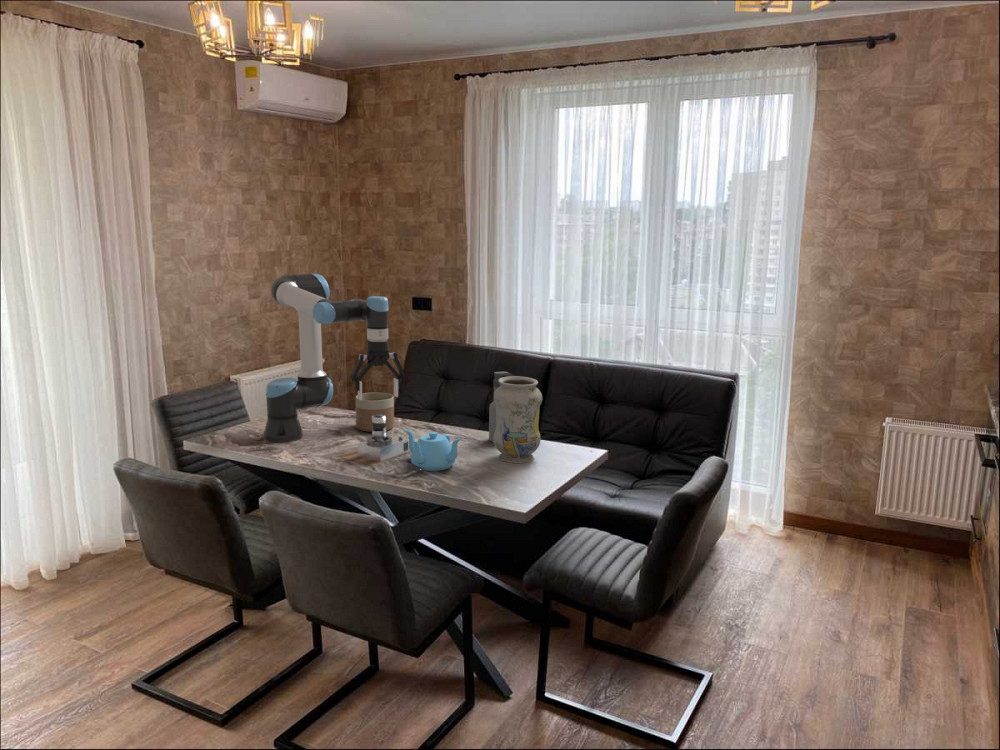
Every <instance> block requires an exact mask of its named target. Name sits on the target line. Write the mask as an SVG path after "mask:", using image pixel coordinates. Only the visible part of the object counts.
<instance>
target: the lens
mask: <svg viewBox="0 0 1000 750" xmlns="http://www.w3.org/2000/svg"><path fill="white" fill-rule="evenodd" d="M371 433H372V435H371V436H372V439H373V441H386V435H387V431H386V416H385V415H382V414H377V415H373V416H372V432H371Z"/></svg>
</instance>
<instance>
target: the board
mask: <svg viewBox="0 0 1000 750" xmlns="http://www.w3.org/2000/svg"><path fill="white" fill-rule="evenodd" d="M408 454H411V451H410V452H409V451H408V453H405V454H402V455H399V456H397V457H394V458H391V459H388V460H385V461H383V462H378V461H374V460H370V459H366V458H362V457H358V448H356V449H353V450H350V451H347V452H344V453H340V454H338V455H335V457H337V458H341V459H344V460H349V461H353V462H357V463H360V464H365V465H369V466H372V467H375V466H378V465H381V464H383V463H386V462H388V461H392V460H394V459H397V458H400V457H403V456H406V455H408Z"/></svg>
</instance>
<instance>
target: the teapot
mask: <svg viewBox="0 0 1000 750" xmlns="http://www.w3.org/2000/svg"><path fill="white" fill-rule="evenodd" d="M404 431H405V433H407V436H408V449H409V451H410V454H411V455H410V461H411V464H412V465H413V466H415V467H417V468H418V470H420V469H421V470H420V471H428V472H440V470H441V471H445V470H447V469H450V468H451V467H452V466H453V465H454V464H455V462H456V459H457V457H458V444H459V442H460V441H461V440H462V439H461V438H458V439H454V440H453V441H452V443H451V437H450V435H448V434H445V433H444V434H438V432H437V431H429V432H428V434H425V435H422V436H420V437H419V439H418V440H417V441H416V440H415V436H414V433H413V432H412V430H410V429H407V428H404Z"/></svg>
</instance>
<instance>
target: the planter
mask: <svg viewBox="0 0 1000 750" xmlns="http://www.w3.org/2000/svg"><path fill="white" fill-rule="evenodd" d="M394 398H395V396H394V394H391V393H387V392H365V393H363V392H362V400H359V399H358V394H357V395H356V396H355V427H356V429H357V430H359V431H362V432H365V431H366V432H365V433H372V416H373V415H377V414H382V415H385V416H386V432H387V431H390V430H391V429H393V428H394V427H395V399H394Z"/></svg>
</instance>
